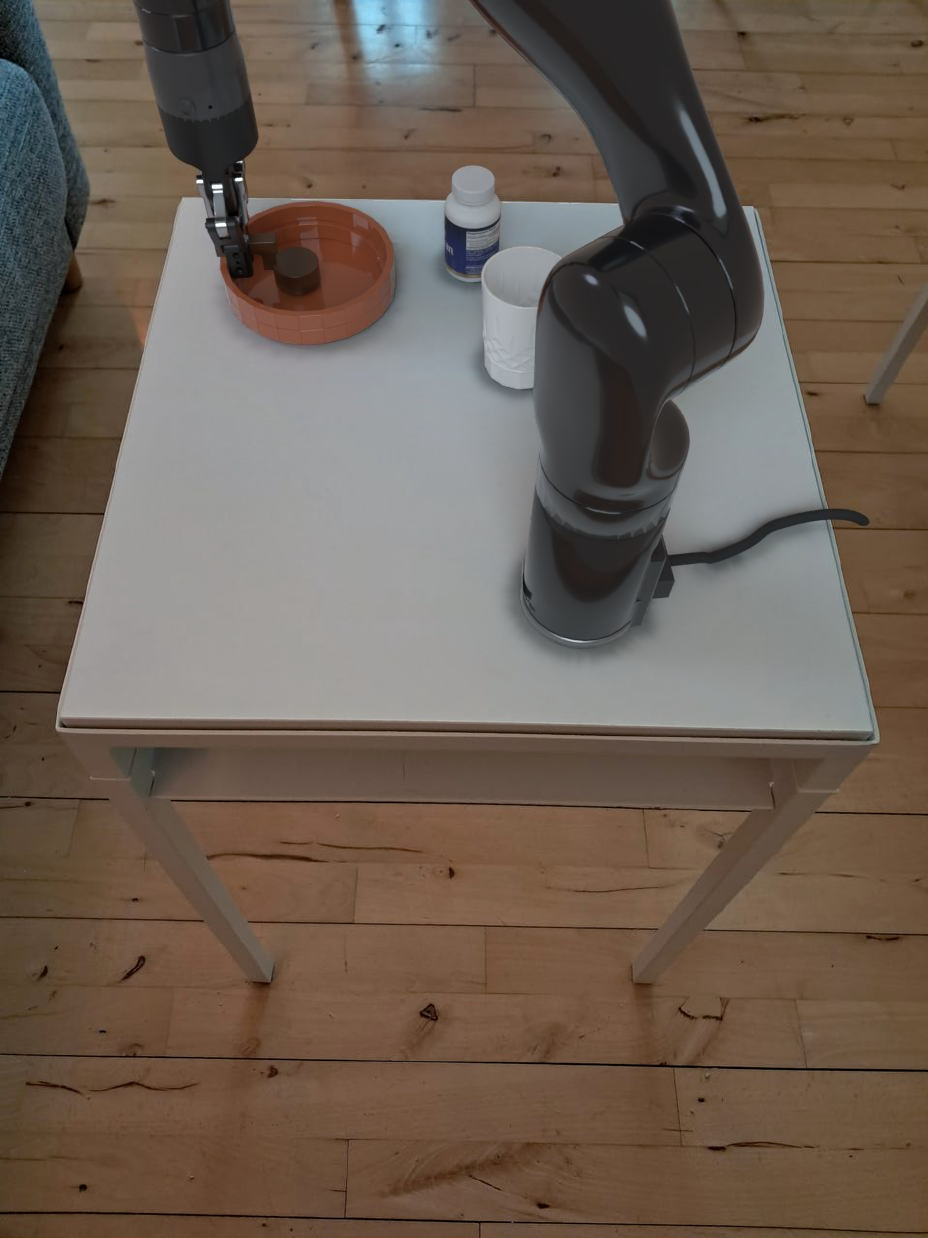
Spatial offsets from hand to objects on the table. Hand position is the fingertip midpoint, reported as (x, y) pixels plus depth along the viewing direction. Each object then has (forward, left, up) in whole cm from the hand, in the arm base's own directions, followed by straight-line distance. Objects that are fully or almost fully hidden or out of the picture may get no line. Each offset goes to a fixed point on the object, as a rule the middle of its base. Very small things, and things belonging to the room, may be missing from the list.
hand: (242, 267), depth 90 cm
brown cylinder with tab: (-3, 0, -2) cm, 3 cm away
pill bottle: (-22, -2, -3) cm, 23 cm away
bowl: (-6, 0, -3) cm, 7 cm away
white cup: (-25, +12, -3) cm, 28 cm away
